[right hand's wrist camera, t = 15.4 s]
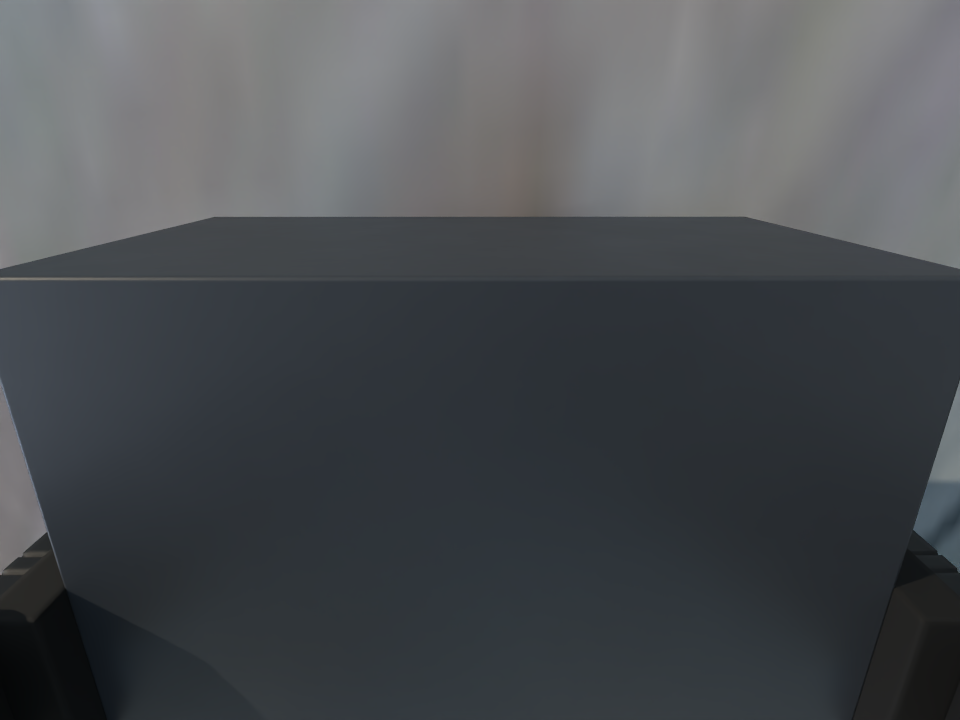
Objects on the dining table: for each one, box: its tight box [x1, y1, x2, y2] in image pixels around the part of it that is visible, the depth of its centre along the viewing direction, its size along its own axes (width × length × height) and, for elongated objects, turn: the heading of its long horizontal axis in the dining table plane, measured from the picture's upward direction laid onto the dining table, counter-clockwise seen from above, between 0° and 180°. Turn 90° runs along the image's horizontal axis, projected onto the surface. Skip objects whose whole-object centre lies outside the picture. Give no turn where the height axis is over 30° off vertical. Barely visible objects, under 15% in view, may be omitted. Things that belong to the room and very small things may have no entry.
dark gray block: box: [0, 217, 960, 720], centre depth 11 cm, size 11×11×6 cm
